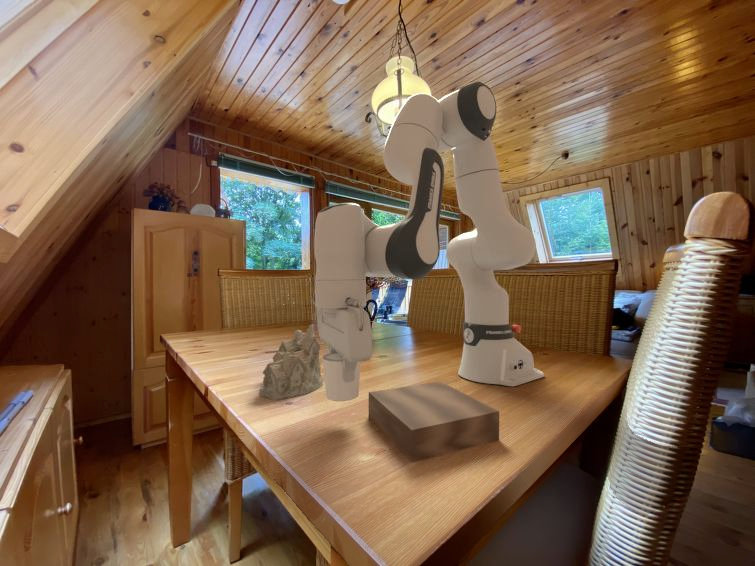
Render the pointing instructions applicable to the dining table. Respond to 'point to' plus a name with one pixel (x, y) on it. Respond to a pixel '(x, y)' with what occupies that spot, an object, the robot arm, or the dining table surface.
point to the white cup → (339, 379)
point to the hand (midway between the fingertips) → (342, 375)
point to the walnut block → (432, 419)
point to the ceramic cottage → (294, 368)
